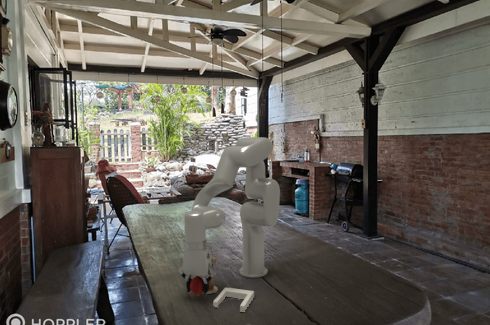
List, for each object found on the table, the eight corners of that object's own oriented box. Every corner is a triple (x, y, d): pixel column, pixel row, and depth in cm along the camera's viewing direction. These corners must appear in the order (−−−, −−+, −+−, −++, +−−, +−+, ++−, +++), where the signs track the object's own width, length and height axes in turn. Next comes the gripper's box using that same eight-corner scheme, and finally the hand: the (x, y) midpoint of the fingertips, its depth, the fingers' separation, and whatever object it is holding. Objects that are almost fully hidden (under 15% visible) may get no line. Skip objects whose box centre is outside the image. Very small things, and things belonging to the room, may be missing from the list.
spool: (206, 287, 140) (205, 255, 139) (220, 289, 138) (219, 257, 137) (199, 293, 134) (199, 261, 133) (214, 295, 132) (213, 262, 131)
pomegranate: (206, 291, 132) (205, 271, 132) (205, 298, 127) (204, 277, 126) (191, 291, 132) (190, 271, 131) (189, 299, 127) (188, 278, 126)
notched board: (225, 293, 134) (225, 287, 134) (254, 297, 130) (254, 291, 130) (213, 308, 123) (213, 301, 122) (244, 313, 119) (244, 306, 119)
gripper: (221, 243, 128) (223, 289, 130) (179, 239, 134) (182, 284, 136) (213, 250, 121) (215, 299, 123) (169, 246, 127) (172, 293, 128)
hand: (197, 291), depth 129 cm, fingers closed on pomegranate, 5 cm apart
